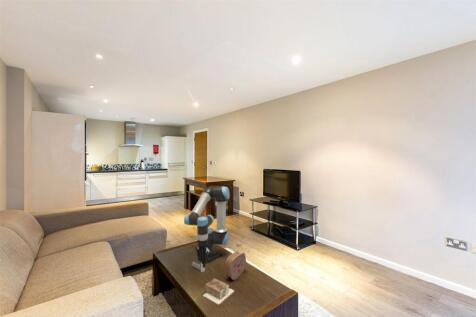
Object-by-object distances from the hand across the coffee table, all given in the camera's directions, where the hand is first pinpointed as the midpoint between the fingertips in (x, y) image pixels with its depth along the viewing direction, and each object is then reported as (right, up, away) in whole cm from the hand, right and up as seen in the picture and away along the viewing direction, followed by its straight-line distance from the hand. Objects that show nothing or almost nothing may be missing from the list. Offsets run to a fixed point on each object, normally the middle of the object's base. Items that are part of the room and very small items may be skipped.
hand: (202, 271), depth 149 cm
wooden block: (+6, -7, -5) cm, 10 cm away
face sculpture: (+24, -10, +12) cm, 28 cm away
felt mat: (+12, -10, -9) cm, 19 cm away
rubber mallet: (-1, -10, +33) cm, 35 cm away
